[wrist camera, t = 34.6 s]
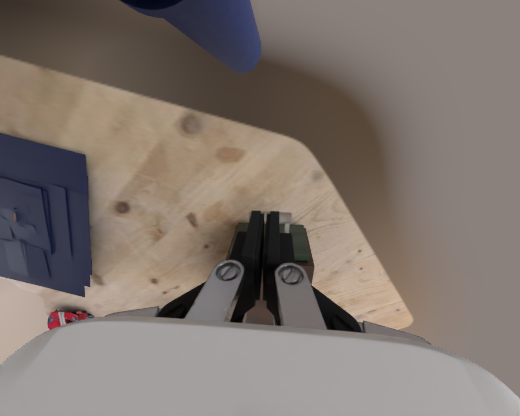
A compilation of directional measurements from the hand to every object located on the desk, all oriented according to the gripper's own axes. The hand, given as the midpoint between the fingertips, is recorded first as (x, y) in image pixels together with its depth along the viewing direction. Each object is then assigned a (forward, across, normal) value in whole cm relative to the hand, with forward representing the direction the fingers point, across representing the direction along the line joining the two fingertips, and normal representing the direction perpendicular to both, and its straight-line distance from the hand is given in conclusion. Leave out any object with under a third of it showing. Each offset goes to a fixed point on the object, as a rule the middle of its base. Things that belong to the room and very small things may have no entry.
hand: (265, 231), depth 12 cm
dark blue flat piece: (+17, +43, +10) cm, 48 cm away
